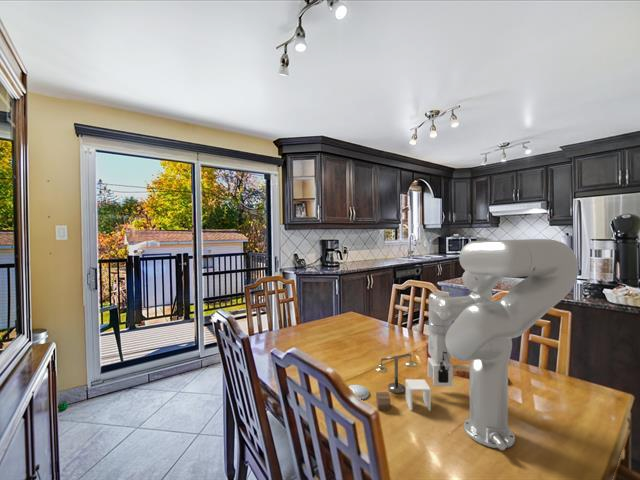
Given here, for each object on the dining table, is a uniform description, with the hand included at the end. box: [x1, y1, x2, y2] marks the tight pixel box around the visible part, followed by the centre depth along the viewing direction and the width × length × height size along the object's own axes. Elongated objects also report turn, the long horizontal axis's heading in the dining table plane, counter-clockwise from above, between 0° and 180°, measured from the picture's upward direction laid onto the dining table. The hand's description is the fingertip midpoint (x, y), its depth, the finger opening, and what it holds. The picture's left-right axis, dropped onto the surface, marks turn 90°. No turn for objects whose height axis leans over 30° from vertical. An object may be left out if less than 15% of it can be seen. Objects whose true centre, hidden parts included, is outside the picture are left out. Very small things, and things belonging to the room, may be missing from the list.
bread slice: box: [452, 363, 511, 384], centre depth 119 cm, size 18×18×4 cm
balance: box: [374, 353, 418, 395], centre depth 110 cm, size 6×15×13 cm, turn 87°
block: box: [375, 391, 391, 411], centre depth 99 cm, size 4×4×4 cm
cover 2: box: [427, 358, 454, 387], centre depth 107 cm, size 6×6×7 cm
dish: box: [348, 384, 370, 401], centre depth 108 cm, size 9×9×1 cm
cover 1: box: [404, 378, 432, 412], centre depth 100 cm, size 6×6×7 cm
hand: (439, 376), depth 107 cm, fingers closed on cover 2, 6 cm apart
